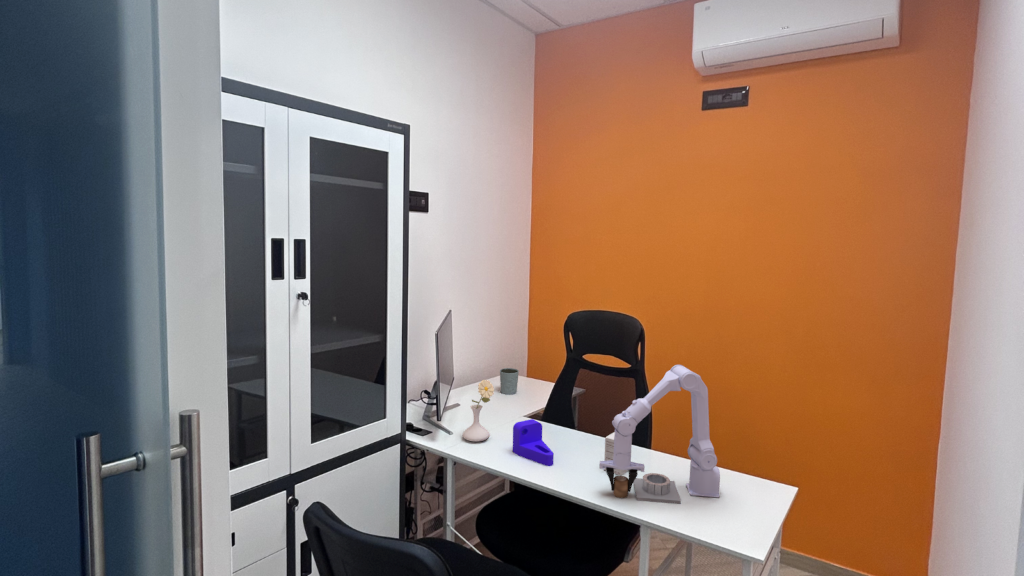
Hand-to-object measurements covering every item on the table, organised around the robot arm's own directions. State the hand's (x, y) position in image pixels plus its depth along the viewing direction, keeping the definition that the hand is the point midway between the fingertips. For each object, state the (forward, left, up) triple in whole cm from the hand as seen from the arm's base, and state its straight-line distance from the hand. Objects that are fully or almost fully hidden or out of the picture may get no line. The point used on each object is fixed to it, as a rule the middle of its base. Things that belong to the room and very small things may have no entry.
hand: (620, 489), depth 182 cm
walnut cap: (0, 0, -2) cm, 2 cm away
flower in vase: (+56, -39, -2) cm, 68 cm away
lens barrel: (-12, -4, -2) cm, 13 cm away
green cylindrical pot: (+52, -104, -2) cm, 116 cm away
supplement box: (0, -19, -2) cm, 19 cm away
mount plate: (-12, -4, -2) cm, 13 cm away
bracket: (+30, -25, -2) cm, 39 cm away
